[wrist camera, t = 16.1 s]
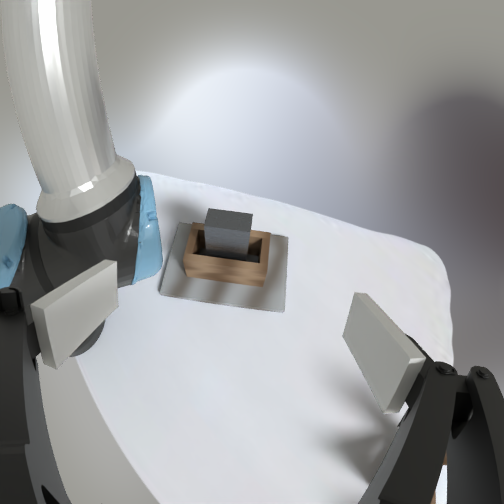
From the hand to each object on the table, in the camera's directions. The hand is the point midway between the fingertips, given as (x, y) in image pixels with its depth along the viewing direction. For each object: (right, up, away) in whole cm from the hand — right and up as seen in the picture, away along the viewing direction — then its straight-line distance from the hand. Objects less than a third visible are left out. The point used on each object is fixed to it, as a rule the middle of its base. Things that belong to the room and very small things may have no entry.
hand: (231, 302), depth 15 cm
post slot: (-3, 0, +34) cm, 34 cm away
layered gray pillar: (-3, +1, +33) cm, 33 cm away
